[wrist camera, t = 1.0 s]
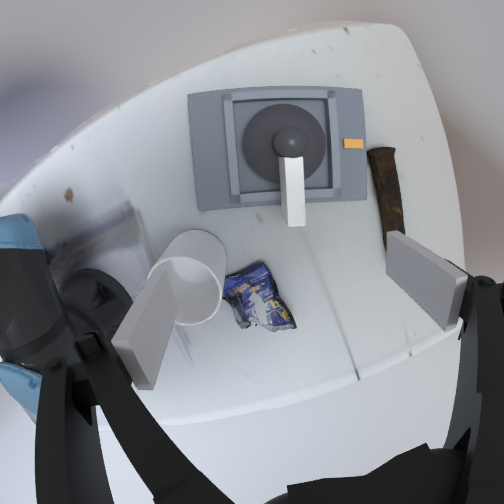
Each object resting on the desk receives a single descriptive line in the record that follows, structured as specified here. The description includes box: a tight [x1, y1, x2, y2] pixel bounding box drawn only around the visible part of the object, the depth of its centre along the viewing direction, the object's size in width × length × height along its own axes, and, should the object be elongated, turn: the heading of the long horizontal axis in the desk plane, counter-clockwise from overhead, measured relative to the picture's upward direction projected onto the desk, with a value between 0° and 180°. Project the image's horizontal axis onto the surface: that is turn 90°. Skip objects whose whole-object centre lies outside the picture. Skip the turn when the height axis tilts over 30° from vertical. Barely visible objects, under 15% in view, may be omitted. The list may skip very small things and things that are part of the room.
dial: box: [243, 104, 326, 227], centre depth 29 cm, size 13×10×7 cm
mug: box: [146, 230, 227, 326], centre depth 35 cm, size 9×12×11 cm
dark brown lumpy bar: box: [367, 147, 405, 252], centre depth 36 cm, size 19×4×5 cm, turn 14°
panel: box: [188, 86, 367, 211], centre depth 32 cm, size 22×15×4 cm
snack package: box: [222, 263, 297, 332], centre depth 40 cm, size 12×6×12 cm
